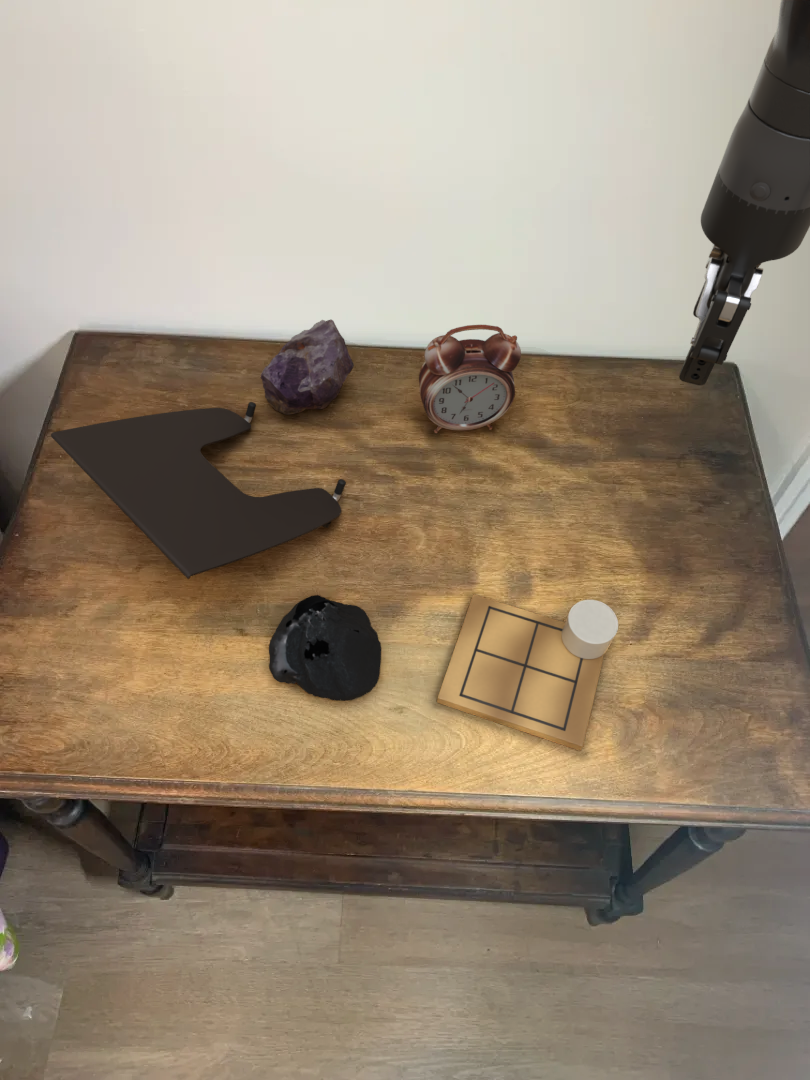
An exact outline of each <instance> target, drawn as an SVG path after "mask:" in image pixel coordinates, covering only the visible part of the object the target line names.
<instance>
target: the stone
mask: <svg viewBox="0 0 810 1080" xmlns="http://www.w3.org/2000/svg"><path fill="white" fill-rule="evenodd" d="M564 622H565V623H564V626H563V628H562V641H563V643H564V645H565V647H566V648H567V649H568V650H569V651H570V652H571V653H572V654H574V655H575V656H577V657H580V658H583V659H595V658H598V657H600V656H602V655H603V654H604V655H605V654H606V653H607V651H608V650H609V648H610V646H611V644H612V642H613V641H614V638H615V637H616V635H617V633H618V631H619V620H618V617H617V614H616V613H615V611H614V610H613V609H612V608H611V606H609V605H608V604H606V603H604V602H602V601H601V600H598V599H597V600H596V599H584V600H580V601H577V602H576V603H575V604H573V605H572V607H571V608H570V609H569V612H568V614H567V616H566V619H565V621H564Z"/></svg>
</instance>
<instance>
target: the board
mask: <svg viewBox="0 0 810 1080" xmlns="http://www.w3.org/2000/svg"><path fill="white" fill-rule="evenodd" d="M564 623H565V621H561V620H558V619H555V618H553V617H550V616H546V615H543V614H539V613H536V612H534V611H533V612H532V611H530V610H526V609H523V608H520V607H516V606H513V605H510V604H507V603H504V602H501V601H497V600H494V599H491V598H489V597H485V596H482V595H478V594H475V593H473V594H472V596H471V599H470V602H469V604H468V608H467V611H466V613H465V617H464V619H463V623H462V626H461V629H460V631H459V635H458V638H457V640H456V643H455V645H454V648H453V651H452V654H451V657H450V660H449V663H448V666H447V669H446V672H445V675H444V678H443V680H442V684H441V686H440V689H439V692H438V695H437V699H436V703H438V704H440V705H443V706H446V707H449V708H451V709H455V710H458V711H461V712H464V713H467V714H469V715H473V716H476V717H478V718H482V719H485V720H488V721H490V722H494V723H496V724H499V725H503V726H505V727H508V728H511V729H514V730H516V731H520V732H524V733H526V734H529V735H532V736H535V737H537V738H541V739H545V740H547V741H549V742H553V743H556V744H558V745H562V746H564V747H567V748H571V749H574V750H576V751H582V749H583V747H584V744H585V740H586V736H587V731H588V727H589V722H590V719H591V714H592V710H593V705H594V701H595V697H596V692H597V687H598V683H599V679H600V674H601V671H602V670H601V669H602V666H603V661H604V658H605V653H604V654H603V655H602V656H600V657H598V658H595V659H583V658H580V657H577V656H575V655H574V654H572V653H571V652H570V651H569V650H568V649H567V648H566V647H565V645H564V643H563V641H562V628H563V626H564Z"/></svg>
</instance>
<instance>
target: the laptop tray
mask: <svg viewBox="0 0 810 1080" xmlns="http://www.w3.org/2000/svg"><path fill="white" fill-rule="evenodd" d="M256 408H257V404H256V403H255V402H253V401H250V402H248V404H247V407H246V411H245V416H244V417H242V416H241V415H240V414H237V413H236V412H234V410H233V411H232V410H231V409H228V408H224V407H207V408H206V407H205V408H196V409H185V410H184V409H183V410H178V411H177V410H176V411H169V412H168V411H167V412H160V413H153V414H147V415H141V416H134V417H128V418H122V419H117V420H110V421H105V422H98V423H94V424H87V425H83V426H78V427H77V426H76V427H73V428H68V429H67V428H66V429H63V430H57V431H53V432H52V433H51V434H50V437H51V439H53V440H54V441H55V442H56V444H57V445H59V447H60V448H61V449H63V451H65V453H66V454H67V455H68V456H69V457H70V458H71V459H72V460H73V461H74V462H75V463H76V464H77V465H78V466H79V468H80V469H81V470H82V471H84V472H85V474H86V475H87V476H88V477H89V478H90V479H91V480H92V481H93V482H94V483H95V484H96V485H97V486H98V487H99V488H100V489H101V490H102V492H103V493H105V495H107V497H108V498H109V499H110V500H111V501H112V502H113V503H114V504H115V505H116V506H117V507H118V508H119V509H120V510H121V511H122V512H123V513H124V514H125V515H126V516H127V517H128V518H129V519H130V521H132V523H133V524H134V525H135V526H136V527H137V528H138V529H139V530H140V532H142V533H143V534H144V535H145V536H146V537H147V538H148V540H149V541H151V542H152V543H153V544H154V545H155V547H156V548H157V549H158V550H159V551H160V552H161V553H162V554H163V555H164V556H165V557H166V558H167V559H168V560H169V561H170V562H171V563H172V564H173V565H174V566H175V568H177V570H179V571H180V573H181V574H182V575H183V576H184V578H186V579H187V580H189V579H190V578H191V577H193V576H197V575H200V574H202V573H206V572H209V571H212V570H215V569H219V568H221V567H224V566H228V565H230V564H233V563H236V562H238V561H242V560H244V559H247V558H250V557H252V556H255V555H258V554H260V553H263V552H266V551H269V550H271V549H274V548H276V547H278V546H282V545H284V544H286V543H289V542H291V541H294V540H296V539H298V538H301V537H303V536H305V535H307V534H309V533H311V532H314V531H315V530H318V529H320V528H322V527H323V528H326V529H329V528H330V527H331V523H332V522H333V521H335V520H336V519H338V518H339V517H340V516H341V514H342V507H341V505H340V504H339V500H340V498H341V496H342V495H343V492H344V489H345V487H346V485H347V481H346V480H345V479H343V478H339V479H338V480H337V482H336V484H335V488H334V491H333V494H332V493H331V494H330V492H328V491H327V490H326V489H324V488H322V487H314V488H312V487H311V488H305V489H298V490H291V491H284V492H279V493H274V494H270V495H264V496H253V495H249V494H247V493H245V492H243V491H242V490H241V489H239V488H238V487H237V486H236V485H234V483H232V481H230V480H229V479H228V478H227V477H226V476H225V475H224V474H222V472H221V471H219V470H218V469H217V468H216V467H215V466H214V464H212V463H211V462H210V461H209V460H208V459H207V458H206V457H205V456H204V455H203V453H202V451H201V450H202V449H204V448H205V447H207V446H210V445H214V444H217V443H220V442H223V441H226V440H229V439H231V438H234V437H237V436H239V435H242V434H244V433H246V432H248V431H250V430H251V429H252V425H251V422H252V420H253V417H254V415H255V411H256Z"/></svg>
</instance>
